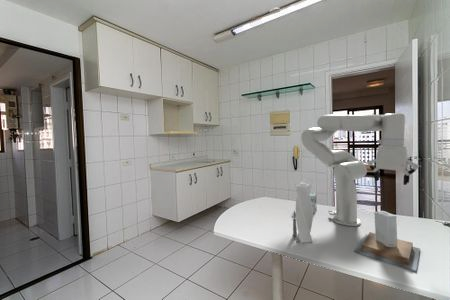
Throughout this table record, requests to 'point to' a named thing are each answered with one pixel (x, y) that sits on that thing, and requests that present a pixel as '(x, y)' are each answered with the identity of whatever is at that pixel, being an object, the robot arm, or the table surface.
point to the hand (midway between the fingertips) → (390, 182)
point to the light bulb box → (313, 201)
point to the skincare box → (386, 228)
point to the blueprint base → (390, 252)
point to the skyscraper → (303, 213)
